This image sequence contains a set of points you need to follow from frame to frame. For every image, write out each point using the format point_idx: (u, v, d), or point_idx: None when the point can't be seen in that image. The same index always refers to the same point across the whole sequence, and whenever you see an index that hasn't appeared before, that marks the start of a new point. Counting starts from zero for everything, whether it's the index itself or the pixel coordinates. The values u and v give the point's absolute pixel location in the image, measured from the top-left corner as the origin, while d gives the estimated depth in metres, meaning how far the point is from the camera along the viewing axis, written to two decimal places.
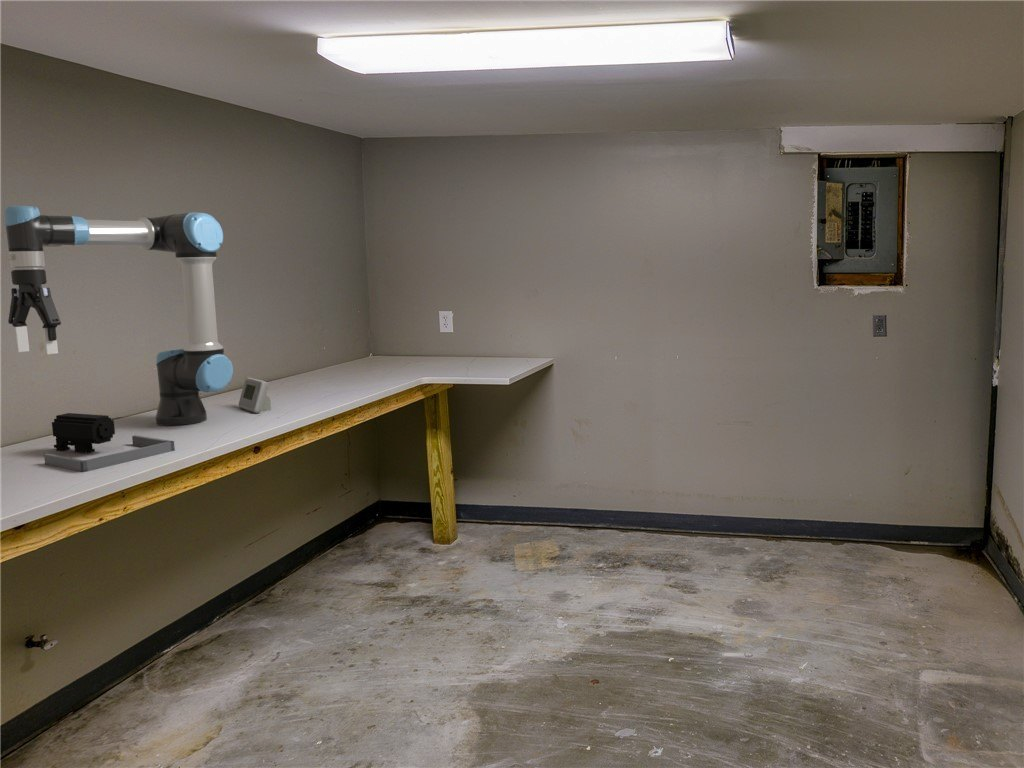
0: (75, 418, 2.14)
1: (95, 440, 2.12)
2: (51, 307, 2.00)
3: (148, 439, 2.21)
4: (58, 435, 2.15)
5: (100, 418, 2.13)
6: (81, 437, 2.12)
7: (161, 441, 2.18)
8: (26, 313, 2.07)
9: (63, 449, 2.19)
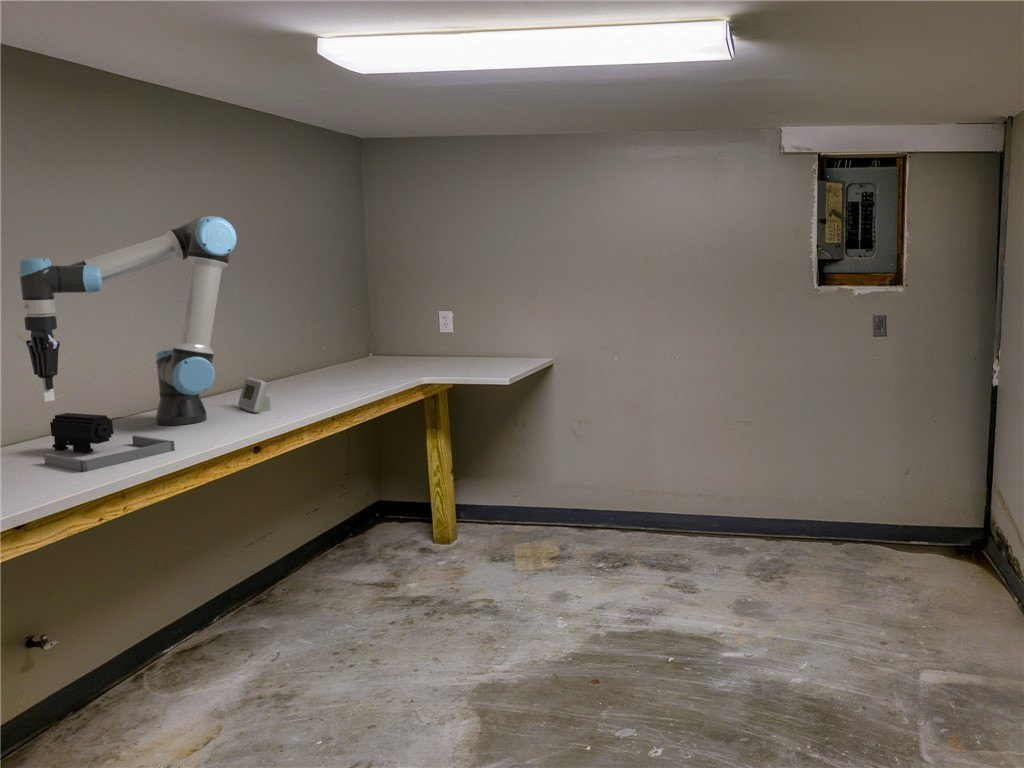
0: (73, 418, 2.14)
1: (93, 440, 2.12)
2: (54, 360, 2.19)
3: (148, 439, 2.21)
4: (56, 435, 2.16)
5: (98, 418, 2.13)
6: (79, 437, 2.13)
7: (161, 441, 2.18)
8: None
9: (61, 449, 2.19)
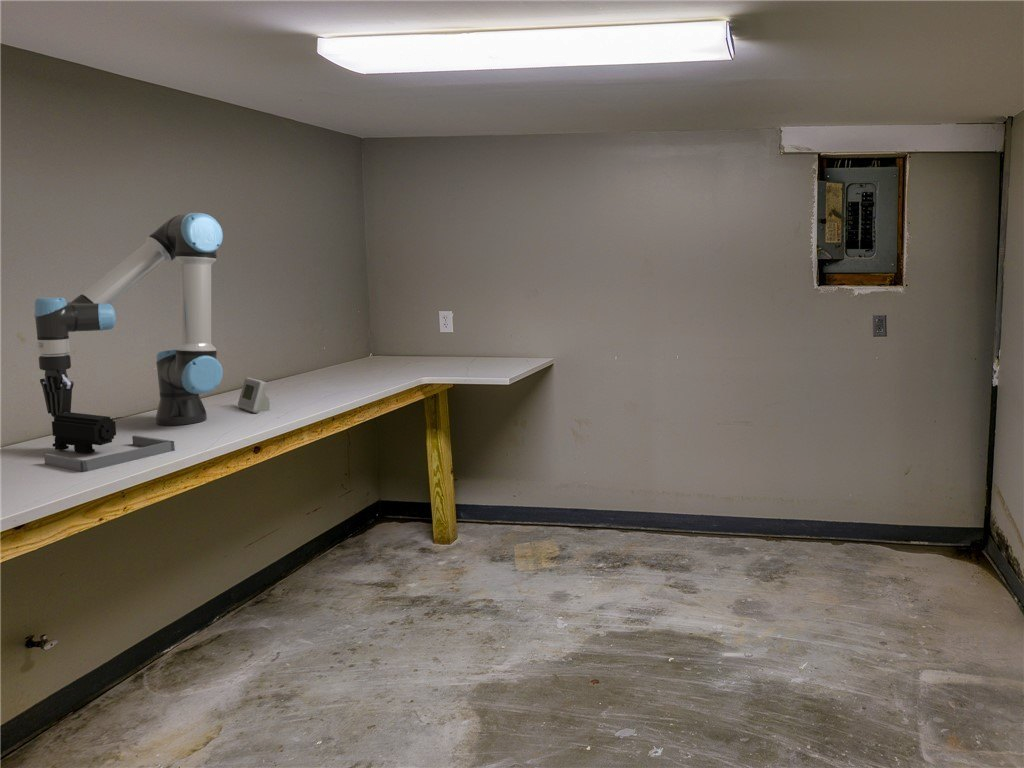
0: (76, 418, 2.13)
1: (97, 441, 2.11)
2: (68, 400, 2.18)
3: (148, 439, 2.21)
4: (58, 435, 2.14)
5: (102, 419, 2.12)
6: (82, 438, 2.11)
7: (161, 441, 2.18)
8: None
9: (62, 448, 2.18)
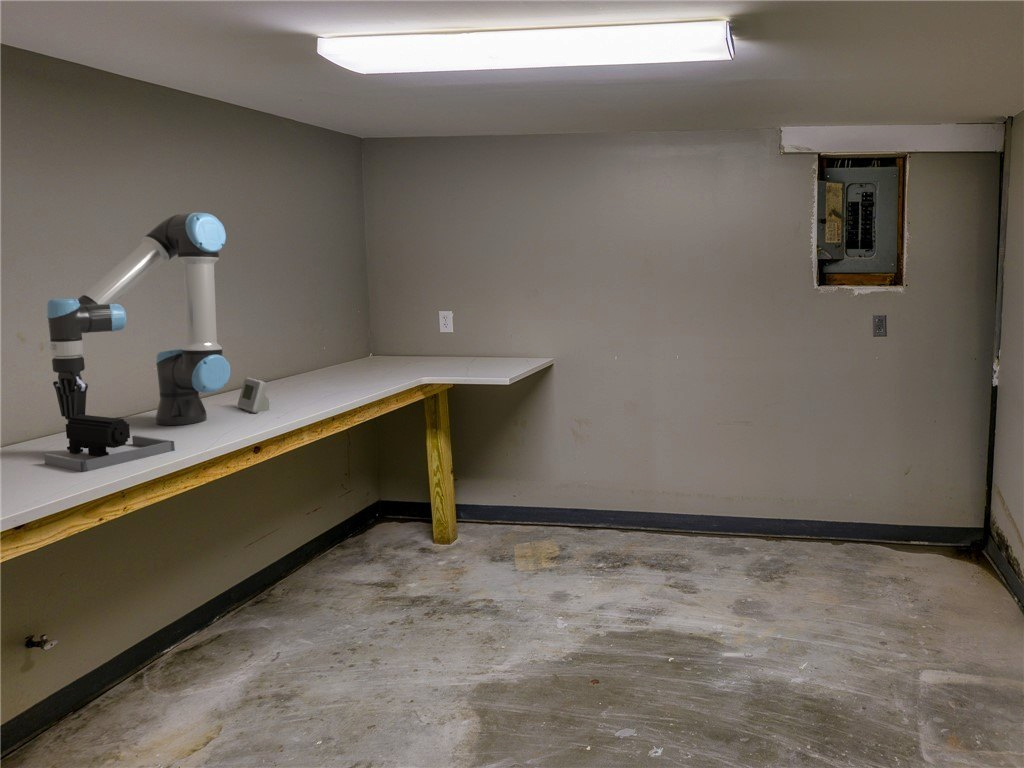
0: (90, 421, 2.10)
1: (110, 444, 2.07)
2: (82, 402, 2.15)
3: (148, 439, 2.21)
4: (72, 437, 2.11)
5: (115, 422, 2.08)
6: (96, 440, 2.08)
7: (161, 441, 2.18)
8: None
9: (76, 451, 2.15)
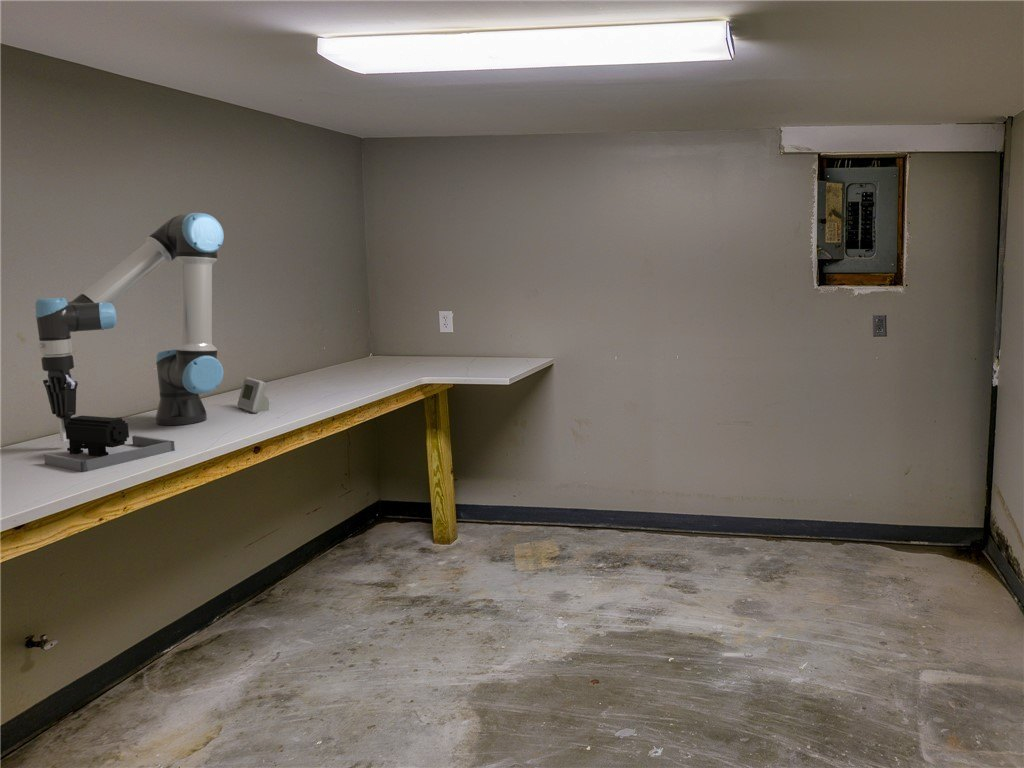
0: (89, 421, 2.10)
1: (109, 443, 2.07)
2: (72, 400, 2.18)
3: (148, 439, 2.21)
4: (71, 438, 2.11)
5: (114, 421, 2.08)
6: (95, 440, 2.08)
7: (161, 441, 2.18)
8: None
9: (76, 452, 2.15)
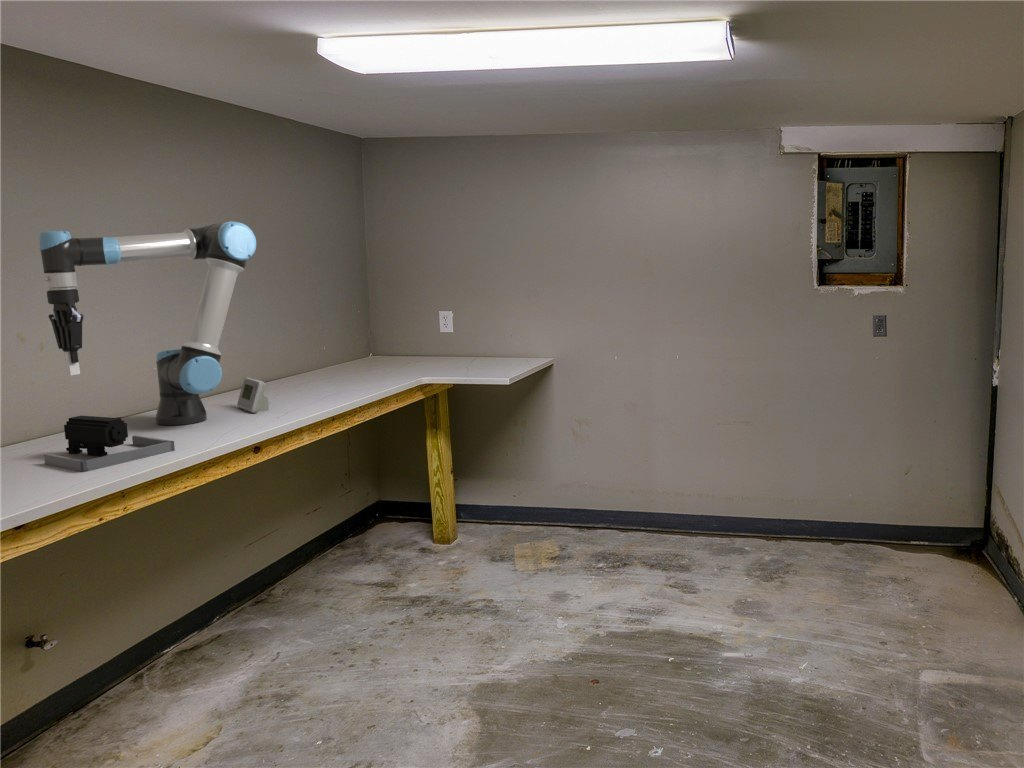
0: (87, 421, 2.10)
1: (108, 443, 2.07)
2: (78, 333, 2.18)
3: (148, 439, 2.21)
4: (70, 438, 2.11)
5: (113, 421, 2.08)
6: (93, 440, 2.08)
7: (161, 441, 2.18)
8: None
9: (75, 452, 2.15)
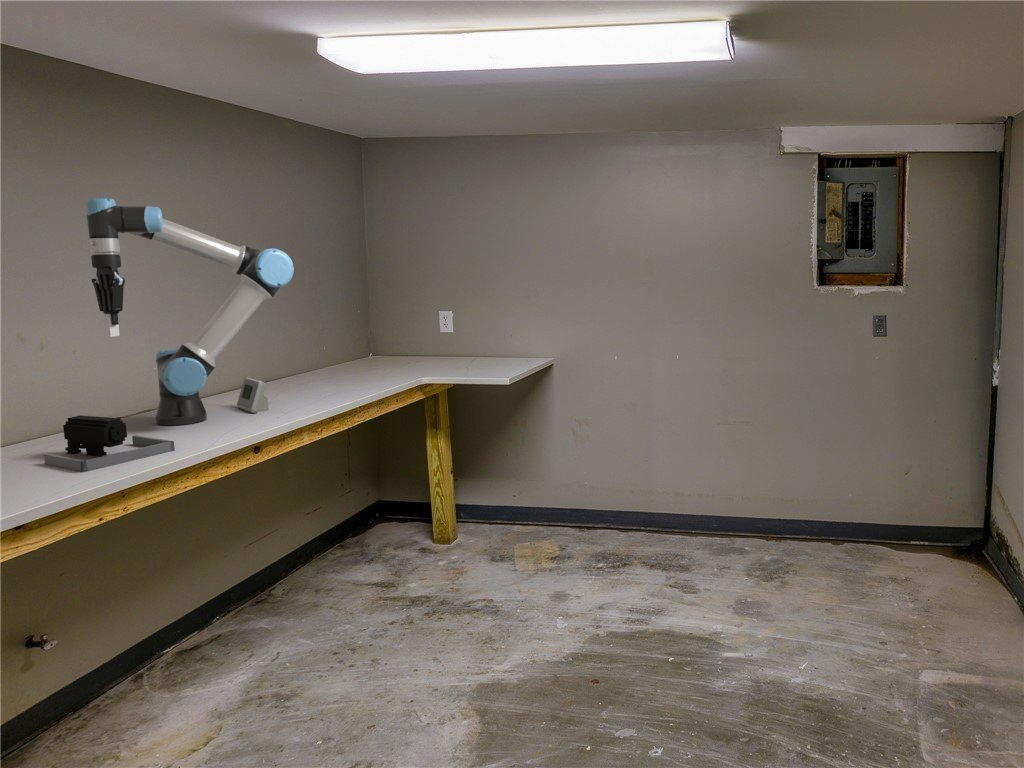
0: (87, 421, 2.10)
1: (107, 443, 2.08)
2: (120, 296, 2.30)
3: (148, 439, 2.21)
4: (69, 438, 2.11)
5: (112, 421, 2.08)
6: (93, 440, 2.08)
7: (161, 441, 2.18)
8: None
9: (75, 452, 2.15)
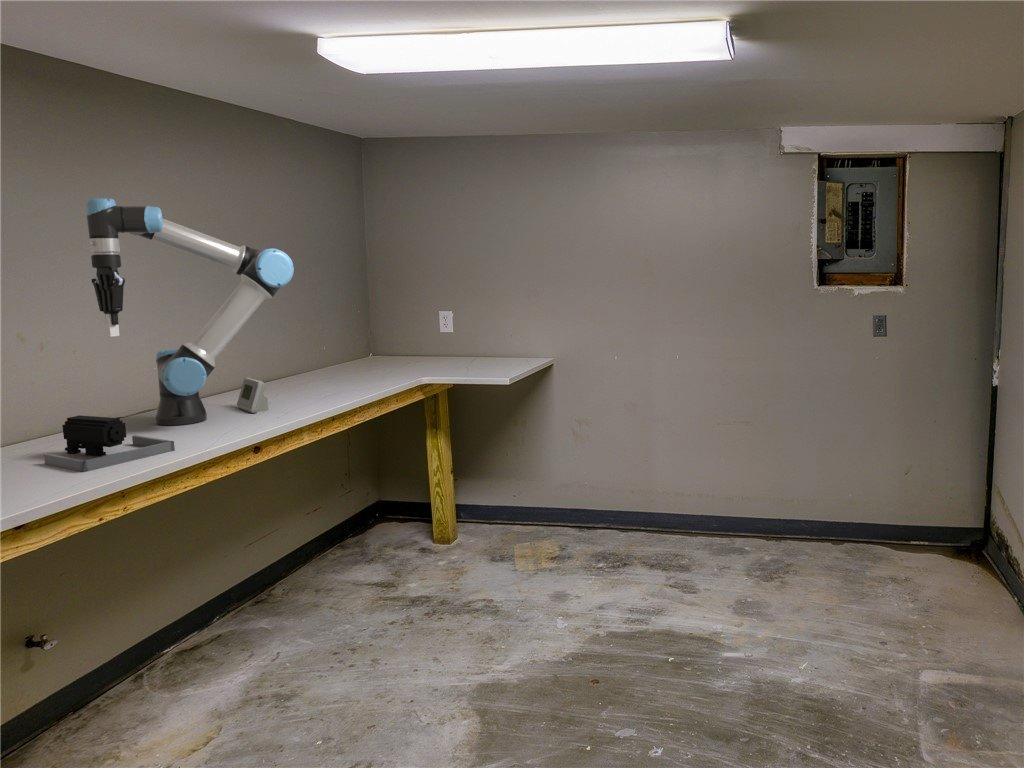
0: (86, 421, 2.10)
1: (106, 443, 2.08)
2: (120, 296, 2.30)
3: (148, 439, 2.21)
4: (69, 438, 2.11)
5: (111, 421, 2.08)
6: (92, 440, 2.08)
7: (161, 441, 2.18)
8: None
9: (74, 452, 2.15)
